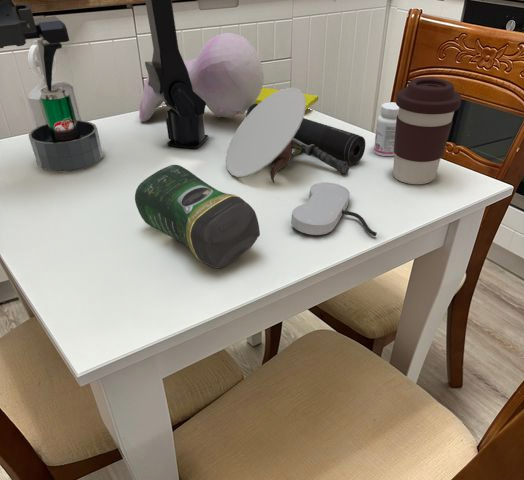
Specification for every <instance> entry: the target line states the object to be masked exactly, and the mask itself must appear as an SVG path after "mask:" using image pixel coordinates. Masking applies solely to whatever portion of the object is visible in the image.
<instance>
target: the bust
mask: <svg viewBox="0 0 524 480" xmlns="http://www.w3.org/2000/svg"><path fill="white" fill-rule="evenodd" d="M180 54H181V56H182V57H183V55H182V53H181V52H180ZM183 61H184V63H185V66H186V68H187V70H188V74H189V77H190V81H191V84H192V88H193V91H194V92H195V93H196V94H197V95H198V96H199V97H200V98H202V99H203V100H204V101H205V102H206V106H205V107H207V108H208V110H209V111H210V112H211V113H212V114H213V115H215V117H216V118H217V117H218V118H223V117H225V118H232V117H235V116H236V115H242V116H243V115H246V113H247V110H248V109H249V107H250V106H251V105H253V104H254V103H255V101H256V100H257V98H258V97H259V95H260V93H261V90H262V87H264V84H265V83H264V82H265V75H264V69H263V65H262V62H261V59H260V56H259V53H257V50H256V49H255V47H254V46H253V45H252V43H251V42H250V41H249V40H248V39H247V38H246V37H244V36H242V35H240V34H236V33H233V32H224V33H219V34H217V35H214V36H213V37H211V38H210V39H208V41H207V42H206V43H205V44H204V45H203V46H202V48H201V50H200V52H199V53H198V55H197V56H196V57H195V58H194V59H190V60H183ZM148 82H149V75H148V74H147V76H146V79H145V83H144V86H143V93H142V97H141V100H140V105H139V112H138V113H139V114H138V116H139V120H140V121H142V122H144V123H145V122H147V121H149V120H150V119H151V118H152V116H153V114H154V113H155V112H156V110H157V109H158V108H159V107H160V106H161V105H162V104H163V103H165V102H164V100H162V99H161V98H160V97H159V96H157V95H156V94H155V92H154V91H153V88H152V87H151V86H149V85H148Z"/></svg>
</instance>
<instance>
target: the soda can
mask: <svg viewBox="0 0 524 480" xmlns="http://www.w3.org/2000/svg"><path fill="white" fill-rule="evenodd" d="M40 92H41V95H40V100H41V103H42V107H43V110H44V114H45V117H46V121H47V124H48V127H49V131H50V134H51V138H52V141H53V143H57V142H67V141H72V140H77V139H80V138H81V137H80V133H79V129H78V125H77V121H76V117H75V113H74V109H73V105H72V101H71V97H70V94H69V93H68V92H67V90H66V87H64V86H51V91H48V89H47V87H45V88H43V89H41V90H40Z"/></svg>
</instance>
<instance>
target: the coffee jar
mask: <svg viewBox="0 0 524 480" xmlns="http://www.w3.org/2000/svg"><path fill="white" fill-rule="evenodd" d="M134 193H135V194H134V202H135V205H136V209H137V211H138V213H139V215H140V217H141V219H142V220H143V222H144V223H145V224H147V225H148V226H150V227H151V228H153V229H154V230H157V231H158V232H160V233H163V234H164V235H166V236H169V237H171V238H172V239H174V240H176V241H178V242H179V243H181V244H183V245H185V246H187V247H188V248H189V250H190V252H191V253H192V254H193V256H194V257H195V258H196V259H197V260H198V261H200V262H201V263H203V264H206V265H208V266H210V267H212V268H215V269H221V268H224V267H226V266H228V265H229V264H231V263H232V262H234V261H235V260H236V259H238V258H239V257H241V256H242V255H243V254H244V253H246V252H247V251H248V250H249V249H251V248H252V247H253V245H254V244H255V243H256V241H257V240H258V238H259V237H260V235H261V231H260V223H259V220H258V216H257V213H256V211H255V209H254V208H253V207H252V205H250V204H249V203H248V202H247V201H245V200H244V199H243V198H242V197H240V196H239V195H236V194H232V193H226V192H224V191H221V190H218V189H217V188H215V187H213V186H211V185H210V184H208V183H207V182H205V181H204V180H202V179H201V178H199V177H198V176H197V175H196V174H194V173H193V172H191V171H190V170H189V169H187V168H185V167H184V166H181V165H179V164H171V165H168V166H165V167H164V168H161V169H159V170H157V171H156V172H154V173H153V174H151V175H150V176H148V177H147V178H145V179H144V180H142V181H141V182H140V183H139V185H138V186H137V188H136V190H135V192H134Z"/></svg>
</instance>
